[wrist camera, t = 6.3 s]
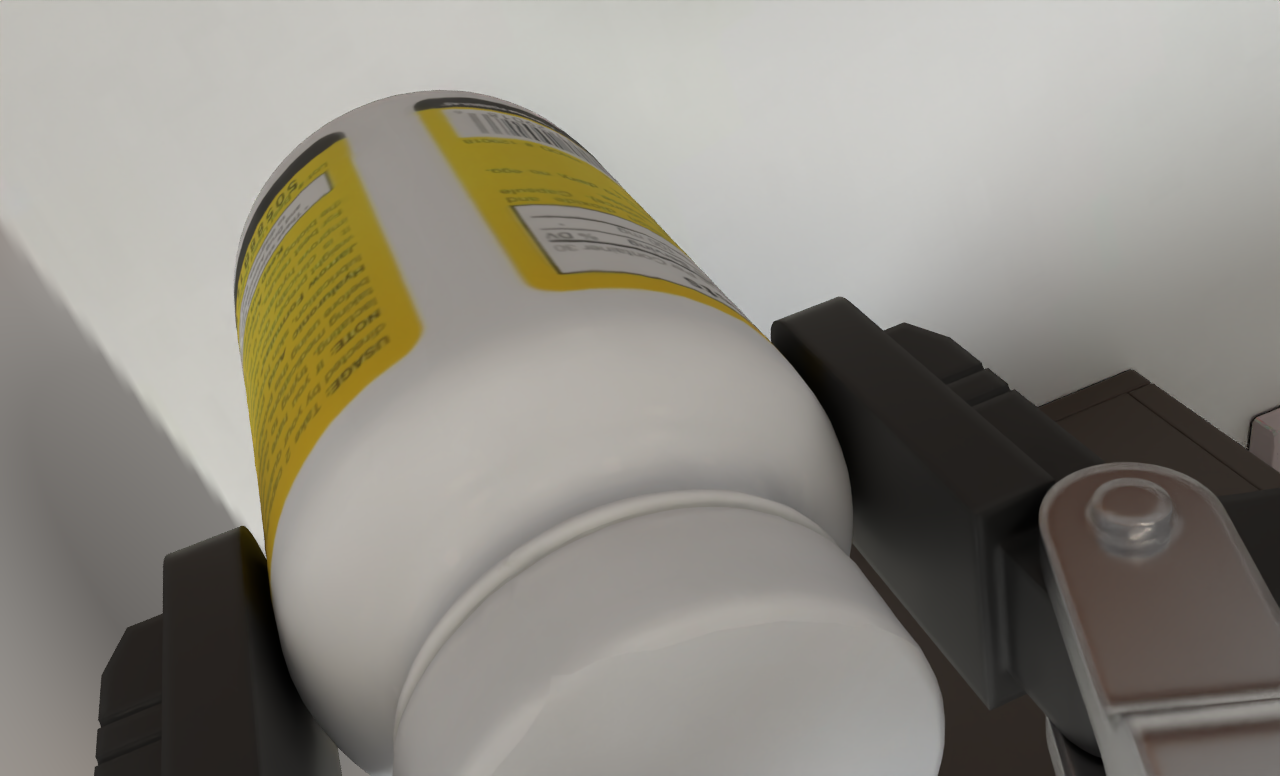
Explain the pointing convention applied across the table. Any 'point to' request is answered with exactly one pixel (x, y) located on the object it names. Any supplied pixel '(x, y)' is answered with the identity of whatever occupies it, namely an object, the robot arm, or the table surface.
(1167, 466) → the chest
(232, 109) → the table surface
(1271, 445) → the handheld electronic device
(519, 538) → the supplement bottle
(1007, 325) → the table surface
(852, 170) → the table surface
